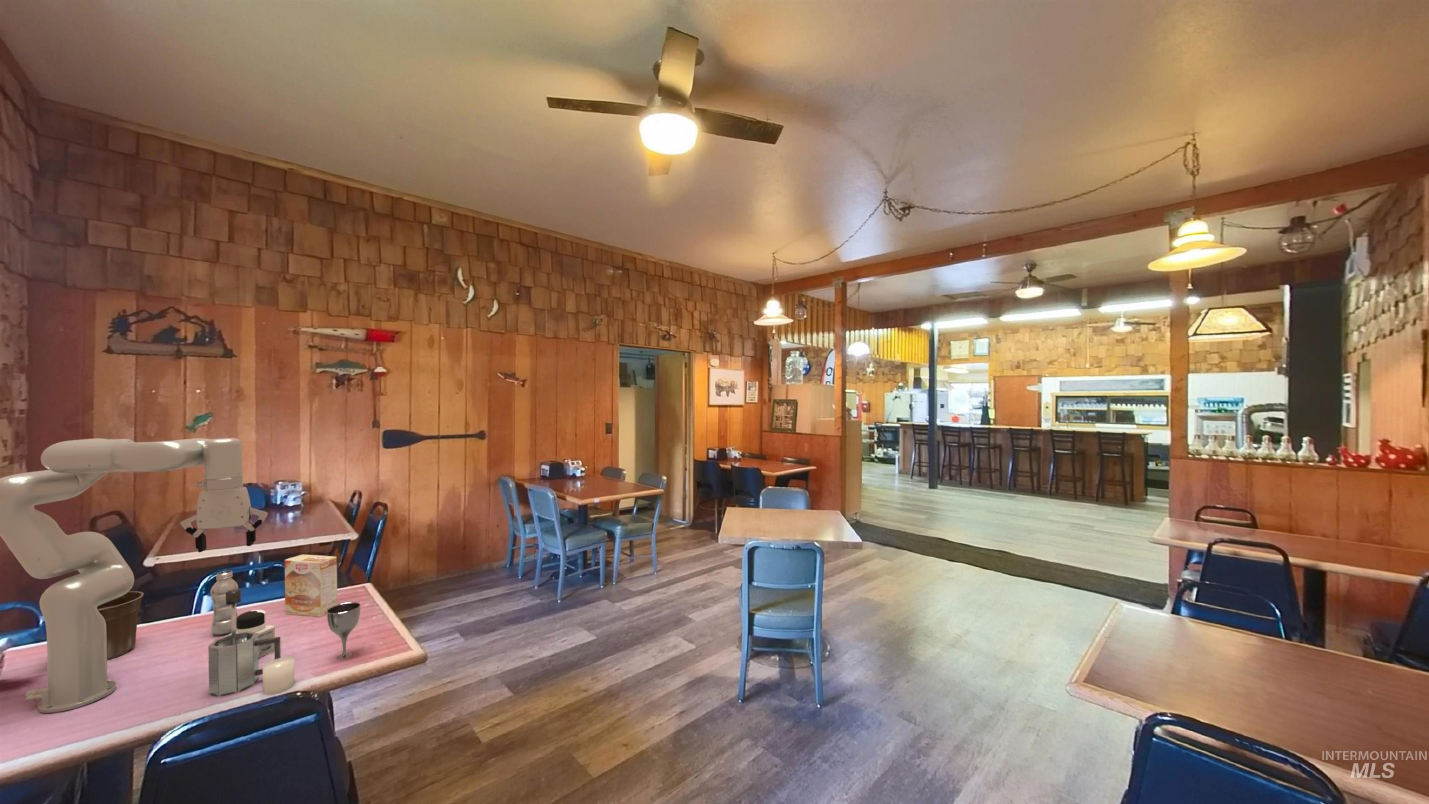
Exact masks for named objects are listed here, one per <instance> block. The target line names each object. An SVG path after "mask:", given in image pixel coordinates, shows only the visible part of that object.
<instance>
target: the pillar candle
mask: <svg viewBox="0 0 1429 804" xmlns="http://www.w3.org/2000/svg"><path fill="white" fill-rule="evenodd" d="M262 669H263V674H262V694H263V695H275V694H279V693H282V692H284V691H286V690H289V689H290V688H291V687H293V686H294V685H295V657H292V656H285V657H281V658H278V659H275V658H274V659H273V660H270V661H268V662H266V663H265V664H263V666H262Z"/></svg>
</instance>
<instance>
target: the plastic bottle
mask: <svg viewBox="0 0 1429 804" xmlns="http://www.w3.org/2000/svg"><path fill="white" fill-rule="evenodd" d="M215 580H216V582H214V584H213V585H212V586H211V589H210V592H209V593H210V596H211V600H212V608H213V615H212V621H211V626H210V629H211V633H212V634H213V635H216V636H221V635H222V636H223V635H226V634H231V633H232V627H231V604H230V605H227V604H226V592H227V591H229V590H233V589H239V584H238V582H236V580H234V579H233V570H224V571H218V572H217V573H216V577H215ZM238 616H239V615H238V610H237V607H236V618H237V617H238ZM236 630H237V628H236Z"/></svg>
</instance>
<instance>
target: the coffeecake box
mask: <svg viewBox="0 0 1429 804" xmlns="http://www.w3.org/2000/svg"><path fill="white" fill-rule="evenodd" d="M337 561H338V559H337V556H333V555H330V556H329V555H320V554H319V555H318V554H299V555H296V556H293V557H289V558H287V559H284V595H285V596H284V608H285V609H284V611H285V612H284V614H285V615H294V616H296V615H297V616H307V617H318V618H319V617H323V616H325V615H326V616H327V610H328V609H329V608H331V607H333V606H335V605H338V562H337Z"/></svg>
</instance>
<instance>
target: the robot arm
mask: <svg viewBox="0 0 1429 804" xmlns="http://www.w3.org/2000/svg"><path fill="white" fill-rule="evenodd" d="M242 451H243V446H242V442H241V440H240V439H239V438H235V437H225V438H224V437H222V438H205V437H204V438H201V437H199V438H198V437H196V438H194V437H193V438H185V439H175V440H173V439H172V440H164V441H143V442H139V441H137V442H135V440H132V439H129V438H117V439H116V438H111V439H108V438H103V437H102V438H99V437H98V438H97V437H96V438H84V439H73V440H65V441H59V442H57V443H53V444H51V445H49V446H48V447H47V448H45V449H44V450H43V452H42V453H41V455H40V461H41V465H42V466H44V468H46V469H45V470H38V471H37V470H36V471H29V472H23V473H16V474H12V475H7V476H4V477H3V476H2V477H0V538H1V539H2V541H4V542H5V544H6V546H7V548H8V549H9V550H10V551H11V553H12V554H13V556H14V557H15V558H16V560H17V561H18V563H20V565H21V566H22V568H23V569H24V571H25V572H26V573H27V574H28V575H29V576H31V577H32V578H34V579H39V580H45V579H46V580H47V579H52V578H55V577H60V576H63V575H66V574H70V573H72V572H75V571H78V574H74V575H73V576H69V577H66V578H64V579H61V580H59V581H57V582H55V583H53V584H51V585H50V586H49V587H48V588H46V589H45V590H44V592H42V594H41V596H40V599H39V608H40V611H41V614H42V617H43V619H44V624H45V629H46V630H45V631H46V651H47V652H46V655H47V657H46V659H47V663H46V664H47V685H46V687H43V688H42V687H41V688H33V689H28V690H27V692H26V693H25V696H24V697H25V702H32V701H36V700H40V702H39V703H38V705H37V710H38V712H39V713H44V714H49V713H51V714H52V713H58V712H59V713H60V712H63V711H64V712H65V711H69V710H72V709H76V708H80V707H83V706H86V705H89V704H92V703H94V702H96V701H99V700H102V699H103V698H105V697H107V696H109V695H110V694H112V693H113V692H115V690H116V689H117V683H116V681H113V680H108V660H107V636H106V622H105V619H104V618H103V616H102V615H101V614H100V613H99V611H98V610H97V607H98V606H100V605H102V604H104V603H107V602H109V601H111V600H114V599H116V598H119V597H121V596H123V595H124V594H126V593H127V592H128V591H131V589H132V588H133V586H134V584H135V576H134V572H133V571H132V569H131V567H130V566H129V564H128V563H127V561H126V560H125V559H124V557H123V556H122V554H121V552H120V551H119V550H118V549H117V547H116V546H115V544H114V543H113V542H112V541H111V539H109V538H108V537H106V535H104V534H102V533H99V532H95V531H81V532H76V533H71V534H66V533H65V532H64V531H63V530H62V528H61V527H60V526H59V524H58V522H57V521H56V520H55V519H53V518H52V517H51V516H50V515H48V514H46V513H45V512H43V511H40V510H37V509H36V508H35V506H40V505H42V504H49V503H55V502H60V501H66V500H69V499H73V498H75V497H77V496H79V495H81V494H82V493H84V492H85V491H87V490H88V489H89V488H91V487H92V486H93V485H95V483H97V482H98V481H99V480H101V478H103V477H104V476H105V475H107V474H108V473H146V472H147V473H148V472H150V473H152V472H153V473H154V472H168V471H170V472H171V471H176V470H181V469H188V468H194V467H200V466H203V480H201V481H197V482H196V487H197V488H202V489H203V491H200V492H199V495H198V500H197V507H196V508H197V509H196V514H194V515H192V516H189V517H188V518H186V519H183V520H181V521H180V523H179V524H180V526H181V527H182V528H183V529H184V531H185V532H186V533H187V534H189V535H191V536H192V537H193V538H194V540H195V541H194V543H195V544H194V545H195V549H196V550H197V552H198V553H203V552H205V551H206V550H207V535H206V534H205V532H206V531H207V530H209V531H210V530H216V529H226V528H227V529H229V528H234V527H235V528H236V527H241V526H243V527H244V528H245V529H246V530H247V531H246V532H245V537H246V542H245V543H246V546H247V547H251V546H252V545H254V543H256V541H257V537H256V535H257V534H256V533H257V532H256V531H257V530H256V529H257V528H258V527H260V526H261V525H262V524H263V523H264V522H265V520H266V518H267V516H268V514H269V513H268V512H267V511H264V510H262V509H261V510H260V509H257V508H254V507H252V506H251V499H250V494H249V492H248V488H247V487H246V486H244V475H243V474H244V473H243V471H244V470H243V453H242ZM252 516H258V518H257V520H256V521H255V522H254V521H252V518H253V517H252ZM194 521H196V527H195V526H193V525H192V524H191V523H192V522H194Z"/></svg>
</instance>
